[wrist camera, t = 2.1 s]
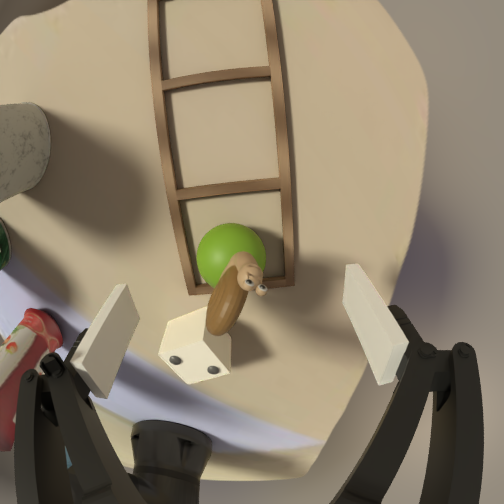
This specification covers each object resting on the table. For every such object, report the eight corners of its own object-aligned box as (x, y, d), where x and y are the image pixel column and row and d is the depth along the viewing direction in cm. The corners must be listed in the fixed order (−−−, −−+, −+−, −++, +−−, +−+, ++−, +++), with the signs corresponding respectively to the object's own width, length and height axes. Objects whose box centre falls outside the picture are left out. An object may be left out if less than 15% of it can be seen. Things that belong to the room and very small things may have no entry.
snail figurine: (279, 219, 23) (310, 305, 12) (247, 279, 26) (251, 383, 15) (220, 193, 22) (199, 263, 11) (192, 257, 25) (161, 355, 14)
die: (231, 338, 29) (230, 374, 24) (193, 351, 30) (187, 386, 25) (208, 305, 27) (202, 341, 22) (168, 321, 28) (157, 355, 23)
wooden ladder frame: (293, 282, 26) (294, 285, 26) (189, 291, 26) (188, 295, 26) (267, -21, 14) (268, -24, 13) (149, -3, 14) (147, -6, 13)
